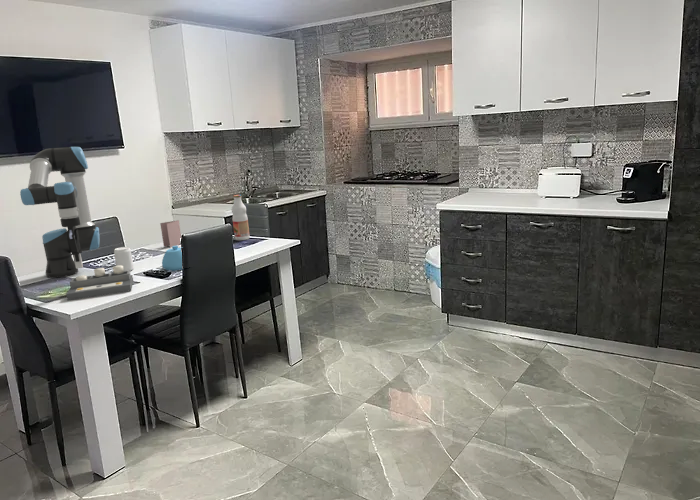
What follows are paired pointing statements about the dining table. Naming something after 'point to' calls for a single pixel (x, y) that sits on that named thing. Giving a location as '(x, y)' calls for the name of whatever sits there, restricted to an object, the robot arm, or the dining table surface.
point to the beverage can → (124, 258)
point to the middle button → (99, 272)
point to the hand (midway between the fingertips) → (79, 267)
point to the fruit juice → (240, 219)
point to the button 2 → (118, 269)
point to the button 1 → (81, 278)
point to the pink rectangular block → (171, 233)
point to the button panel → (100, 285)
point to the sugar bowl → (172, 259)
